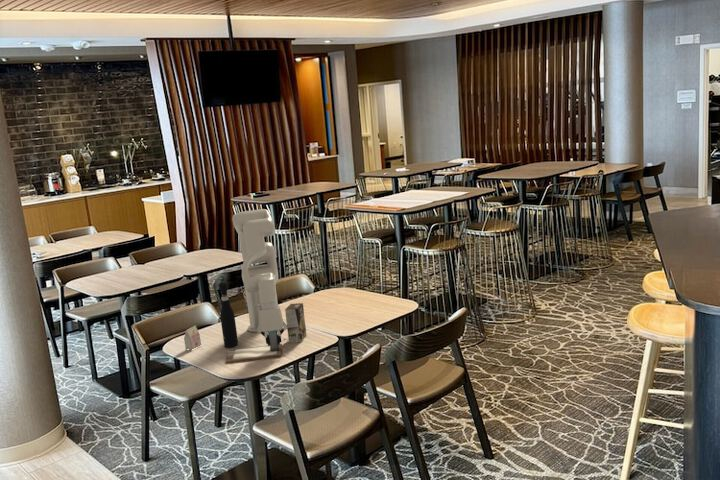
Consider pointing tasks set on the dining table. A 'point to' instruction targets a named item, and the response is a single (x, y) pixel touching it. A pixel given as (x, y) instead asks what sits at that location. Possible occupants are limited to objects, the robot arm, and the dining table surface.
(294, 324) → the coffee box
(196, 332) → the red and white box
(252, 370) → the dining table surface
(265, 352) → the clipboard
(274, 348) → the marker
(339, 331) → the dining table surface
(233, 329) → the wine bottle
